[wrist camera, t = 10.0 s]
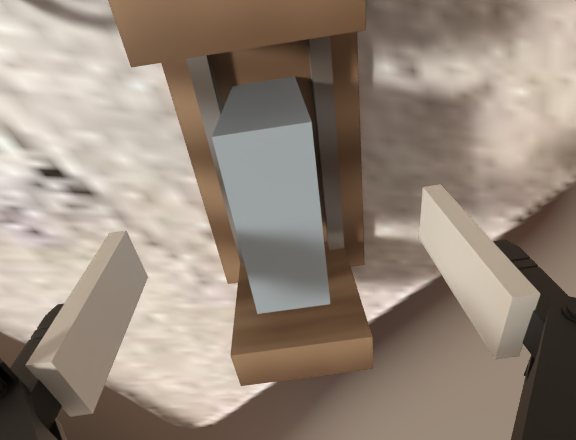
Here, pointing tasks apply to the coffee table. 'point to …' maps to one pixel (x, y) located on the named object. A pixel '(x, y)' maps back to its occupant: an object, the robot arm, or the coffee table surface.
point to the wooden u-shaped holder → (327, 145)
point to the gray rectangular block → (274, 193)
